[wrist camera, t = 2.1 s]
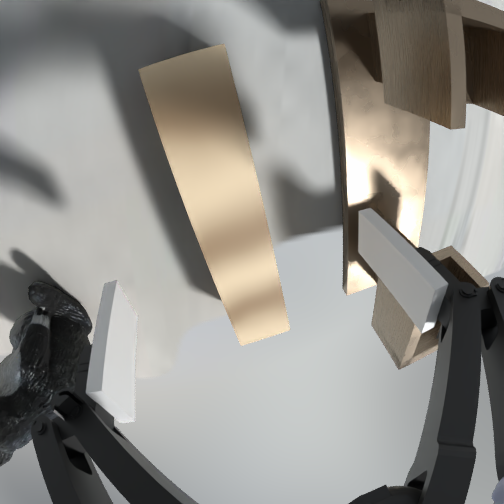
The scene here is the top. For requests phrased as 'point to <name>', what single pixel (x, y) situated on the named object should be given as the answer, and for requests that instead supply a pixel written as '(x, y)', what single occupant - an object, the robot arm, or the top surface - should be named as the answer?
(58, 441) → the robot arm
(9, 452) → the figurine
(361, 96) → the bracket
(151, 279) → the top surface
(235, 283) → the rail
